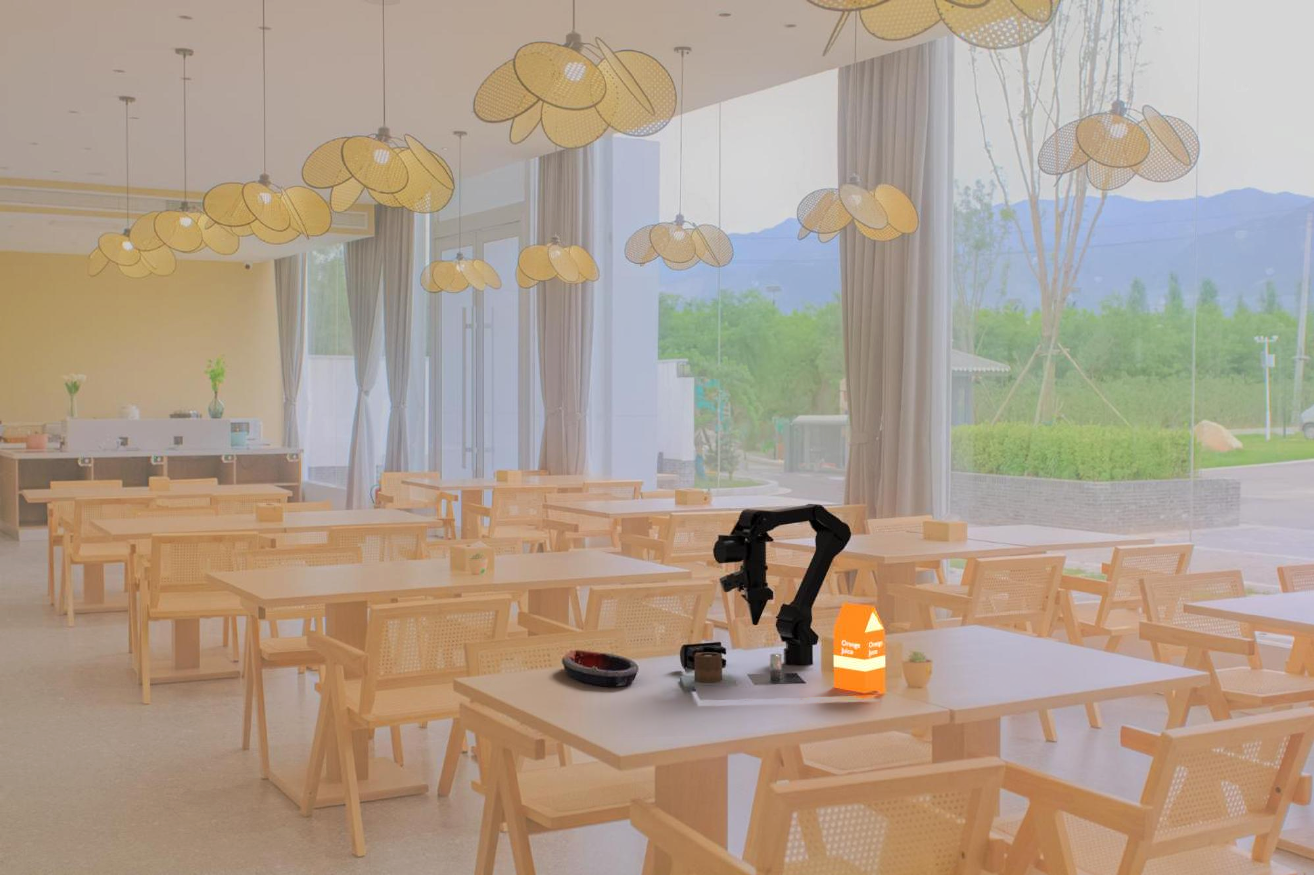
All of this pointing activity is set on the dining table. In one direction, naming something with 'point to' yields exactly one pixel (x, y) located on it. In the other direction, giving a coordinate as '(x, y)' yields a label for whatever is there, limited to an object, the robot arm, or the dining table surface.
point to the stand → (776, 674)
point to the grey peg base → (690, 682)
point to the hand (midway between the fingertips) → (754, 624)
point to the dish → (600, 668)
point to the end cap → (691, 649)
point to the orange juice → (859, 650)
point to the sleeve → (708, 667)
